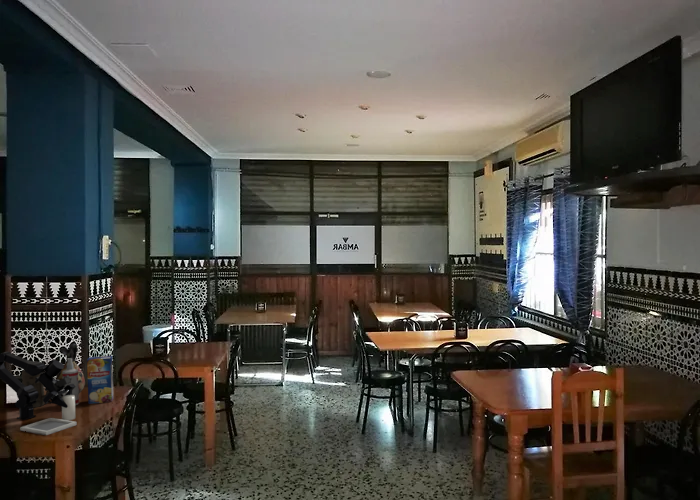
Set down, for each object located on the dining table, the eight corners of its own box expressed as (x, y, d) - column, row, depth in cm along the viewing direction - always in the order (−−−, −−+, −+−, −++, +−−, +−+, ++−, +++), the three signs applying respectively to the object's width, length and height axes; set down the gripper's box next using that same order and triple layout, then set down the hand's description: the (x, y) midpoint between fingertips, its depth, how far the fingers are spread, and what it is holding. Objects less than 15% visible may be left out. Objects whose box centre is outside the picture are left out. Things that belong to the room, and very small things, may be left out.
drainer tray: (20, 430, 275) (20, 427, 275) (51, 420, 290) (51, 417, 290) (46, 435, 267) (46, 431, 267) (76, 425, 282) (76, 421, 282)
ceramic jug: (77, 400, 327) (75, 346, 327) (49, 401, 327) (48, 347, 327) (91, 393, 344) (89, 341, 344) (65, 393, 344) (63, 342, 344)
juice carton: (88, 403, 320) (86, 359, 320) (90, 400, 327) (89, 357, 327) (111, 401, 323) (110, 358, 323) (113, 398, 330) (112, 355, 330)
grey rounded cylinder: (59, 419, 291) (58, 397, 291) (69, 416, 297) (69, 394, 297) (67, 421, 289) (67, 398, 289) (78, 417, 294) (77, 395, 294)
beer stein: (17, 409, 312) (19, 371, 312) (23, 404, 322) (24, 367, 322) (49, 408, 316) (51, 371, 316) (54, 403, 326) (55, 367, 327)
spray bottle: (60, 405, 319) (59, 358, 318) (73, 401, 325) (72, 356, 325) (68, 407, 314) (67, 360, 314) (81, 403, 321) (80, 357, 320)
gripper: (47, 375, 284) (69, 399, 282) (71, 367, 302) (92, 389, 301) (33, 392, 285) (55, 415, 284) (57, 382, 304) (78, 404, 302)
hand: (71, 405), depth 293 cm, fingers closed on grey rounded cylinder, 6 cm apart
